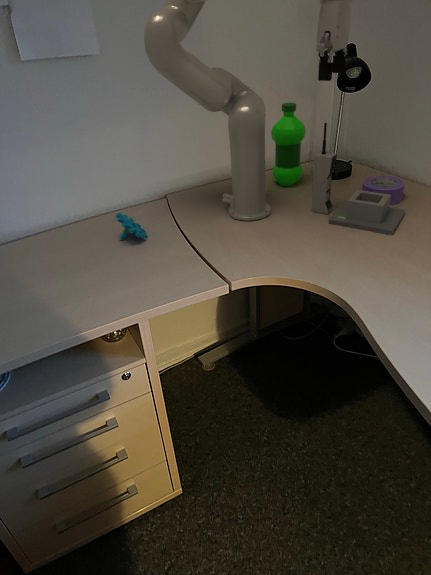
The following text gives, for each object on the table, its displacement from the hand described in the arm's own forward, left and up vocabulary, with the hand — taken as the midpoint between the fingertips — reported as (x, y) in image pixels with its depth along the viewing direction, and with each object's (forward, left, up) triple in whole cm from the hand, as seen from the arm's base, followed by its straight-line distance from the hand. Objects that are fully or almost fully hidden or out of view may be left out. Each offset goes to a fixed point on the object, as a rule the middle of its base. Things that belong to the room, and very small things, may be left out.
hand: (331, 76), depth 115 cm
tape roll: (+13, +16, -37) cm, 42 cm away
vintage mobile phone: (0, 0, -36) cm, 36 cm away
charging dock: (+13, 0, -36) cm, 38 cm away
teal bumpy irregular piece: (-41, -36, -36) cm, 66 cm away
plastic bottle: (-18, +16, -36) cm, 44 cm away
